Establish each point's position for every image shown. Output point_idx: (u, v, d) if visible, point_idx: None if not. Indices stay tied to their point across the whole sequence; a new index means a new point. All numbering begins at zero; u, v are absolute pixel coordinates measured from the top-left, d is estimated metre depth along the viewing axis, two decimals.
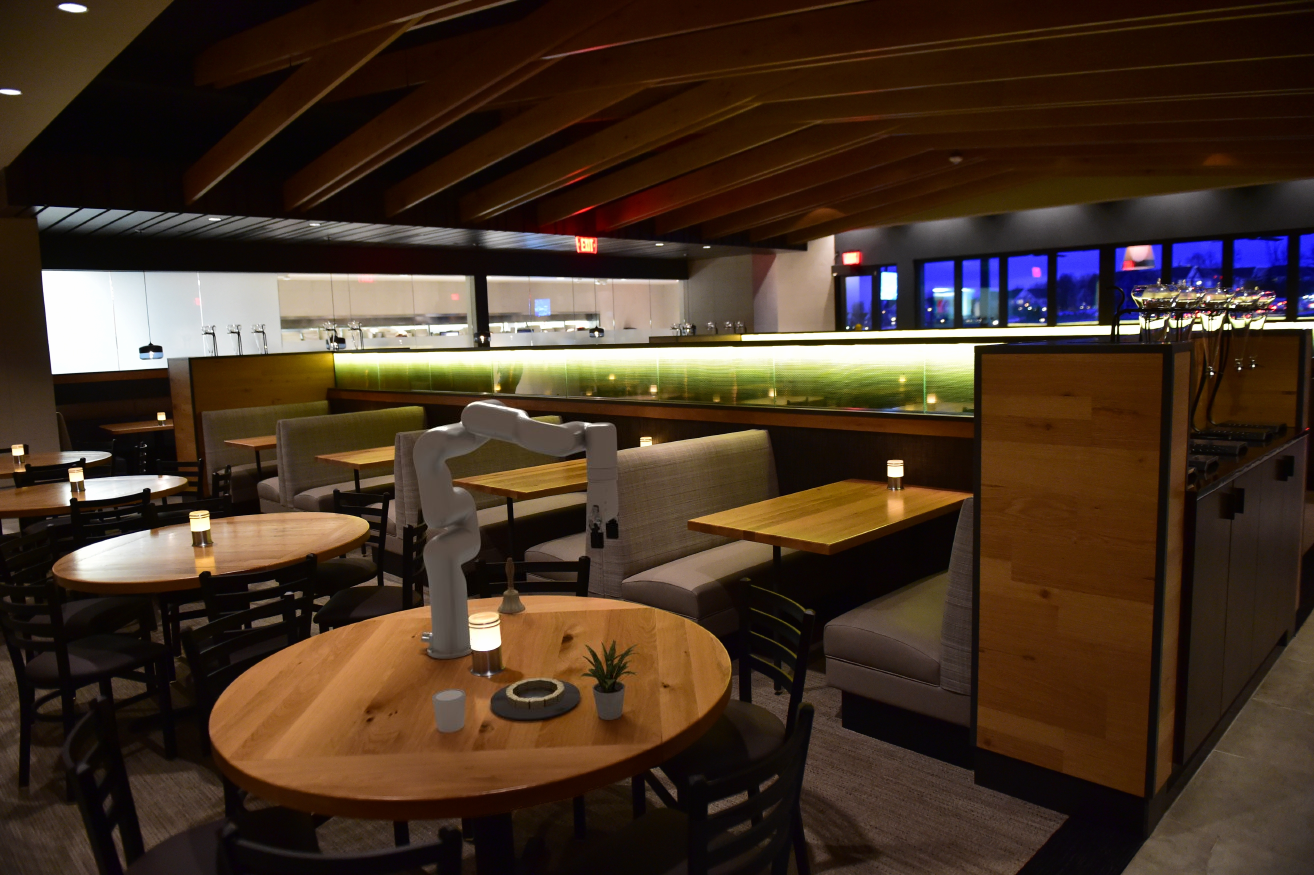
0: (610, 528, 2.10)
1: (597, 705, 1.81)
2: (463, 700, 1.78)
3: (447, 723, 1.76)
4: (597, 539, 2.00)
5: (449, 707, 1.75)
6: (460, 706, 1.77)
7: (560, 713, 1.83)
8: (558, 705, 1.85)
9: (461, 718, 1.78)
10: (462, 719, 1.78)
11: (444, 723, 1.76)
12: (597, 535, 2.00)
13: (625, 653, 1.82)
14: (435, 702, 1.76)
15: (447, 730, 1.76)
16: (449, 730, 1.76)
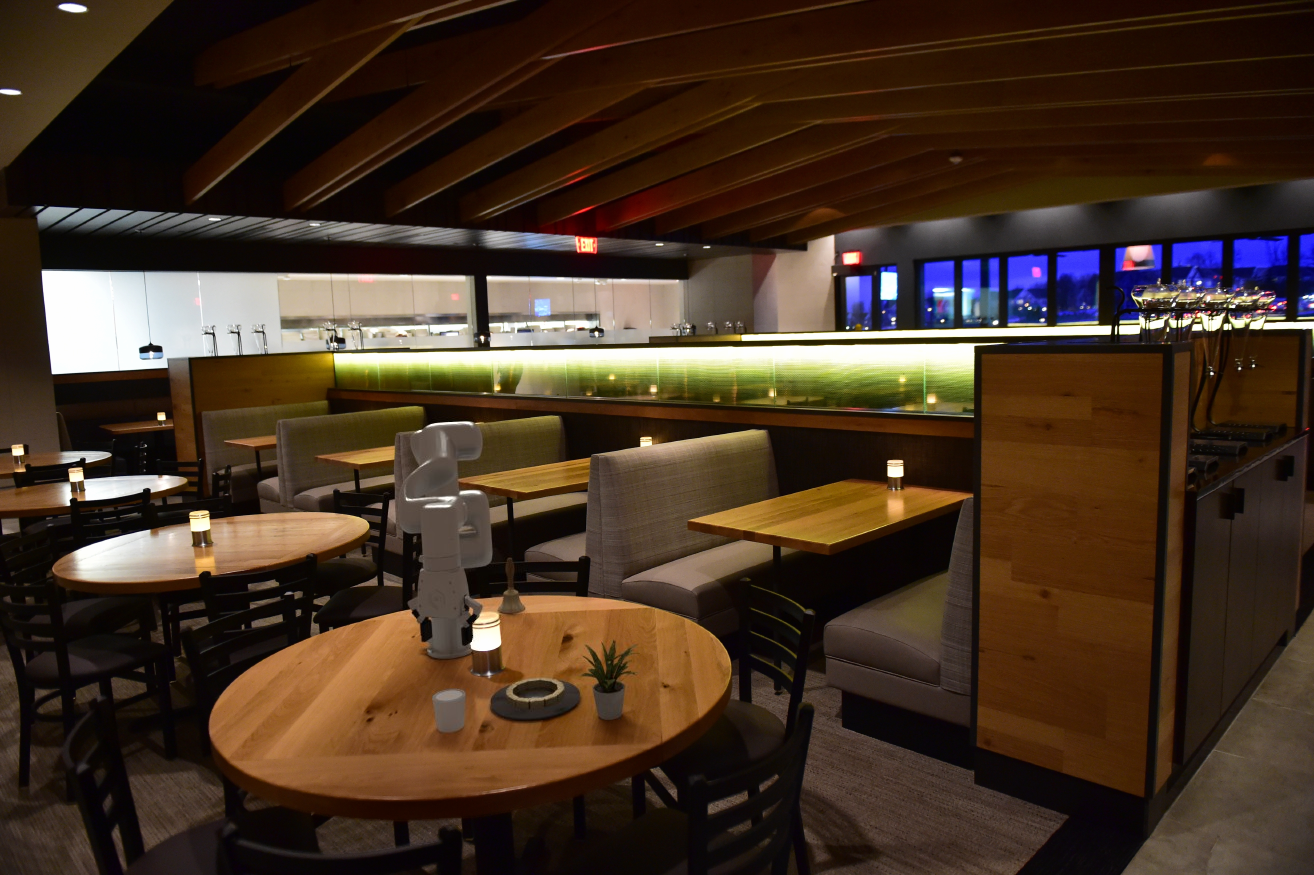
0: (427, 628, 1.78)
1: (597, 705, 1.81)
2: (463, 700, 1.78)
3: (447, 723, 1.76)
4: (472, 632, 1.76)
5: (449, 707, 1.75)
6: (460, 706, 1.77)
7: (560, 713, 1.83)
8: (558, 705, 1.85)
9: (461, 718, 1.78)
10: (462, 719, 1.78)
11: (444, 723, 1.76)
12: (471, 627, 1.76)
13: (625, 653, 1.82)
14: (435, 702, 1.76)
15: (447, 730, 1.76)
16: (449, 730, 1.76)
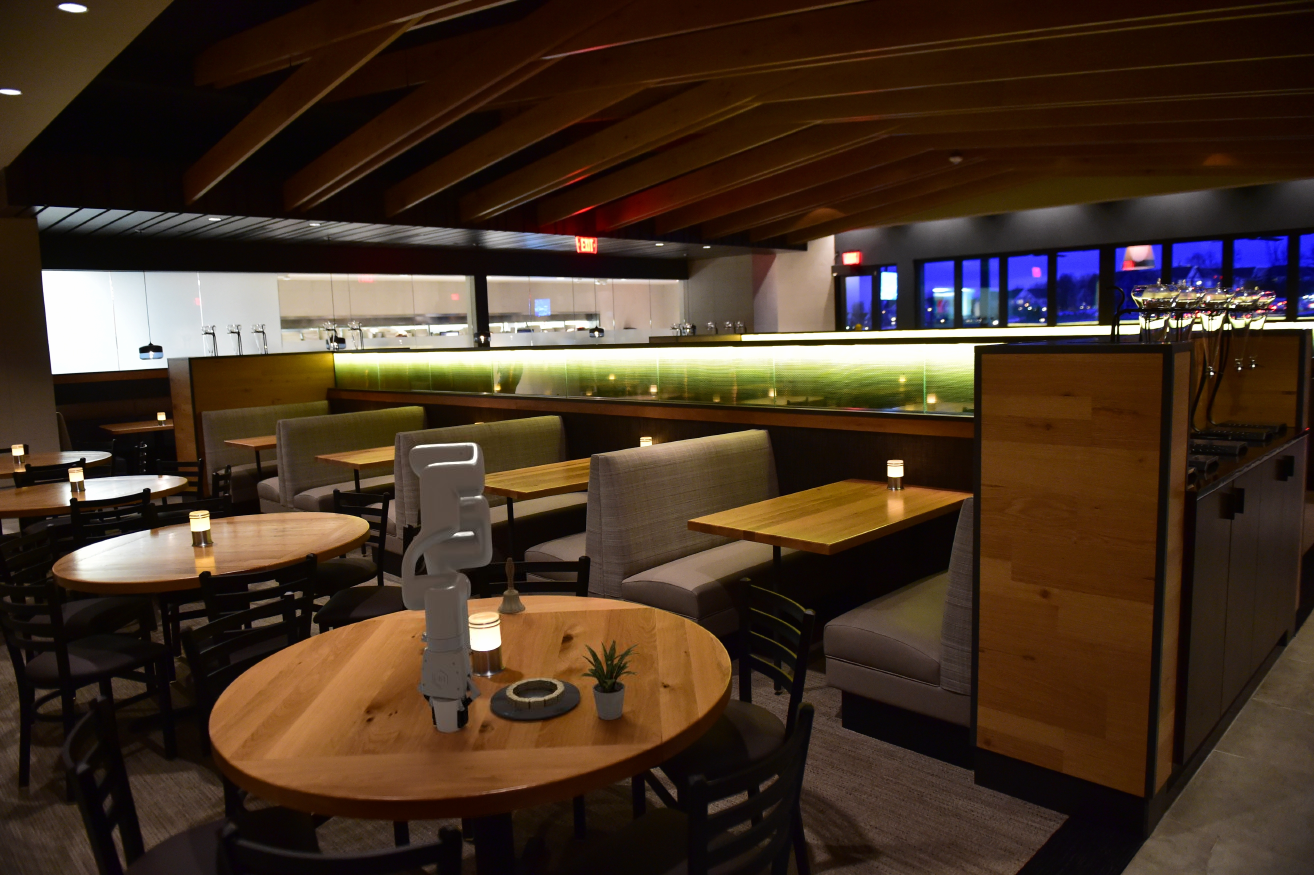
0: None
1: (597, 705, 1.81)
2: (463, 700, 1.78)
3: (447, 723, 1.76)
4: (467, 714, 1.78)
5: (449, 707, 1.75)
6: None
7: (560, 713, 1.83)
8: (558, 705, 1.85)
9: None
10: None
11: (444, 723, 1.76)
12: (467, 710, 1.78)
13: (625, 653, 1.82)
14: (435, 702, 1.76)
15: (447, 730, 1.76)
16: (449, 730, 1.76)
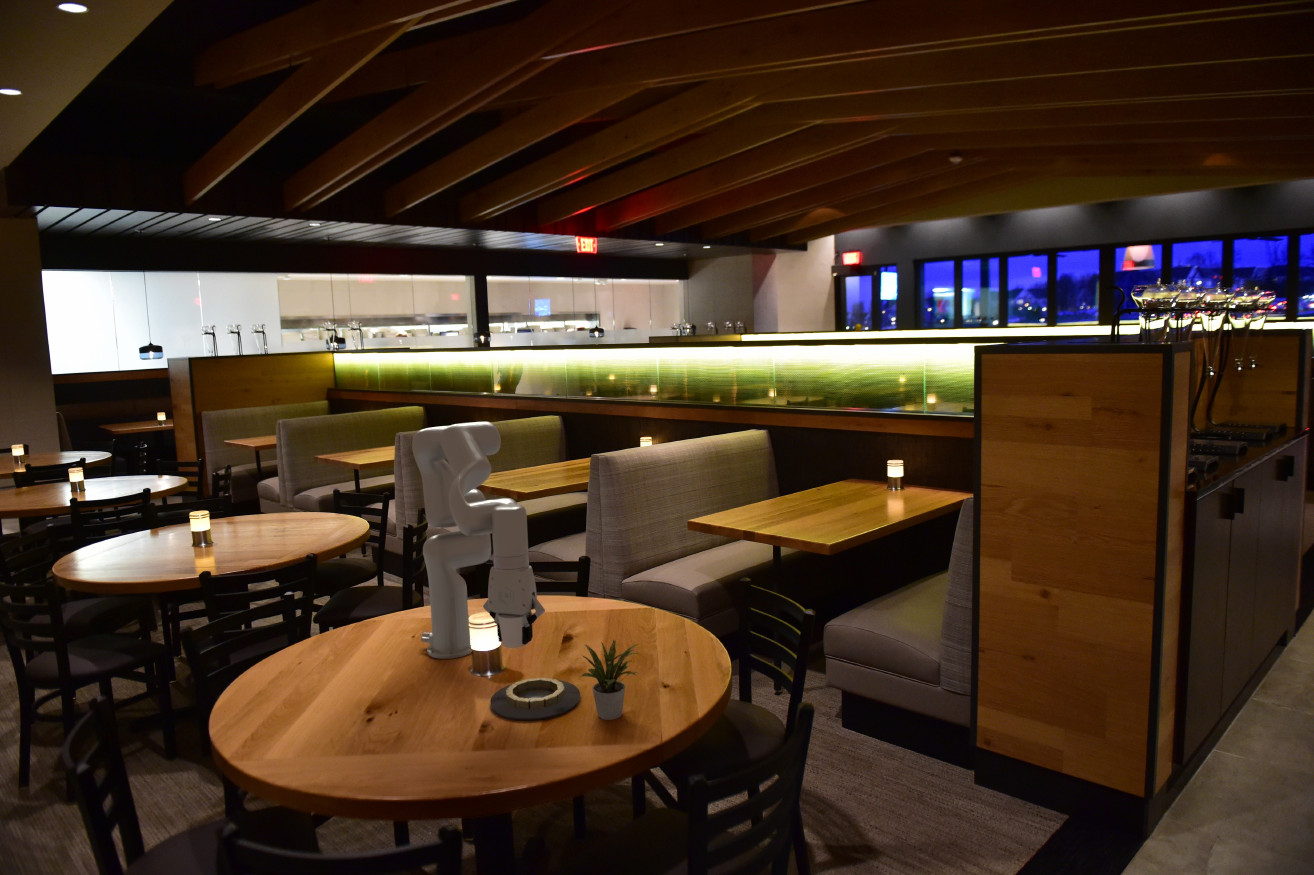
0: None
1: (597, 705, 1.81)
2: None
3: (512, 638, 1.83)
4: (531, 631, 1.85)
5: (514, 623, 1.83)
6: None
7: (560, 713, 1.83)
8: (558, 705, 1.85)
9: None
10: None
11: (510, 638, 1.83)
12: (531, 627, 1.85)
13: (625, 653, 1.82)
14: (501, 618, 1.83)
15: (512, 645, 1.84)
16: (514, 645, 1.84)
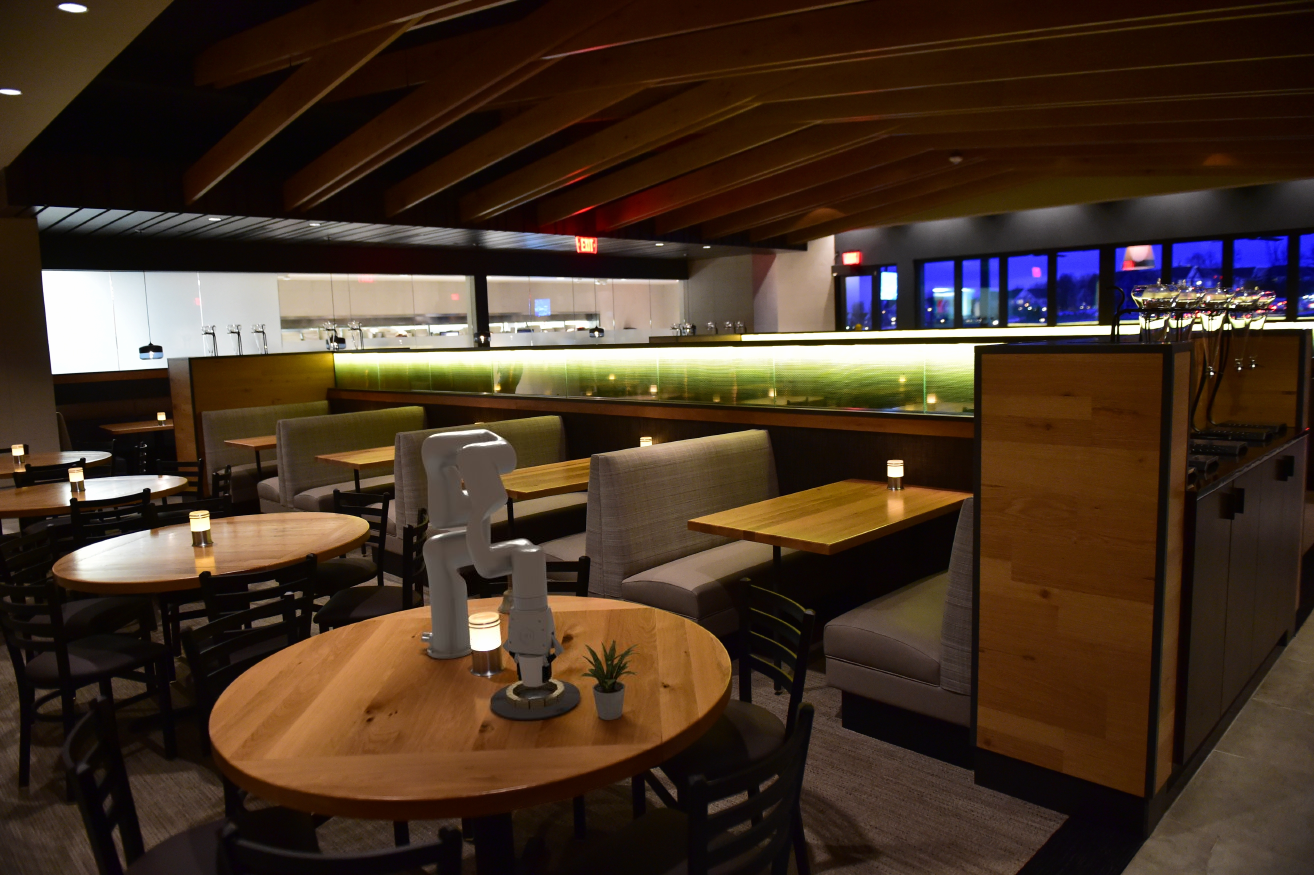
0: None
1: (597, 705, 1.81)
2: (547, 656, 1.88)
3: (533, 678, 1.87)
4: (551, 670, 1.89)
5: (535, 662, 1.86)
6: None
7: (560, 713, 1.83)
8: (558, 705, 1.85)
9: None
10: None
11: (530, 678, 1.87)
12: (550, 666, 1.89)
13: (625, 653, 1.82)
14: (521, 658, 1.87)
15: (533, 684, 1.87)
16: (534, 684, 1.87)
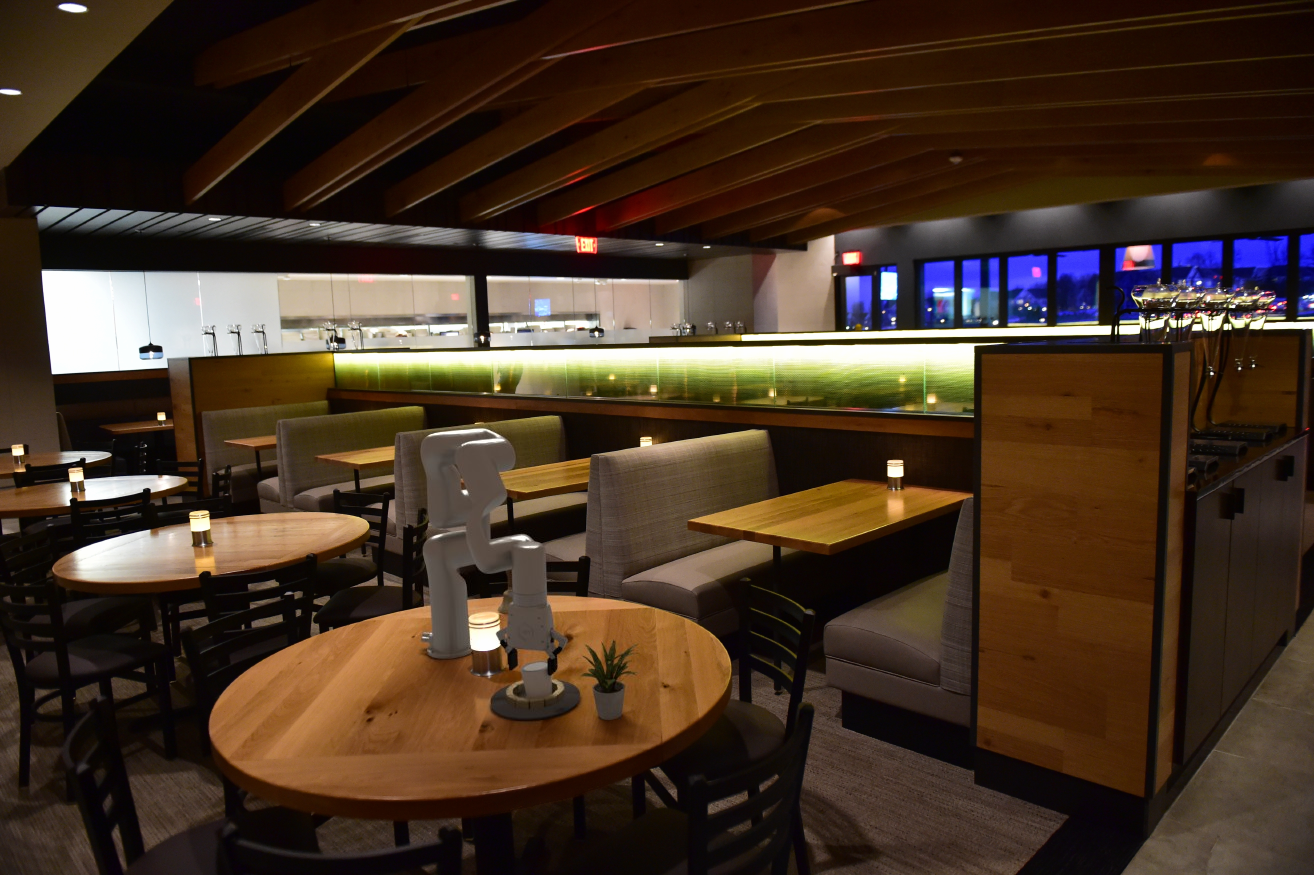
0: (514, 657, 1.91)
1: (597, 705, 1.81)
2: None
3: (536, 692, 1.87)
4: (556, 662, 1.89)
5: (537, 676, 1.86)
6: (547, 675, 1.88)
7: (560, 713, 1.83)
8: (558, 705, 1.85)
9: (549, 687, 1.88)
10: (550, 688, 1.89)
11: (534, 692, 1.87)
12: (556, 658, 1.88)
13: (625, 653, 1.82)
14: (524, 673, 1.87)
15: None
16: None
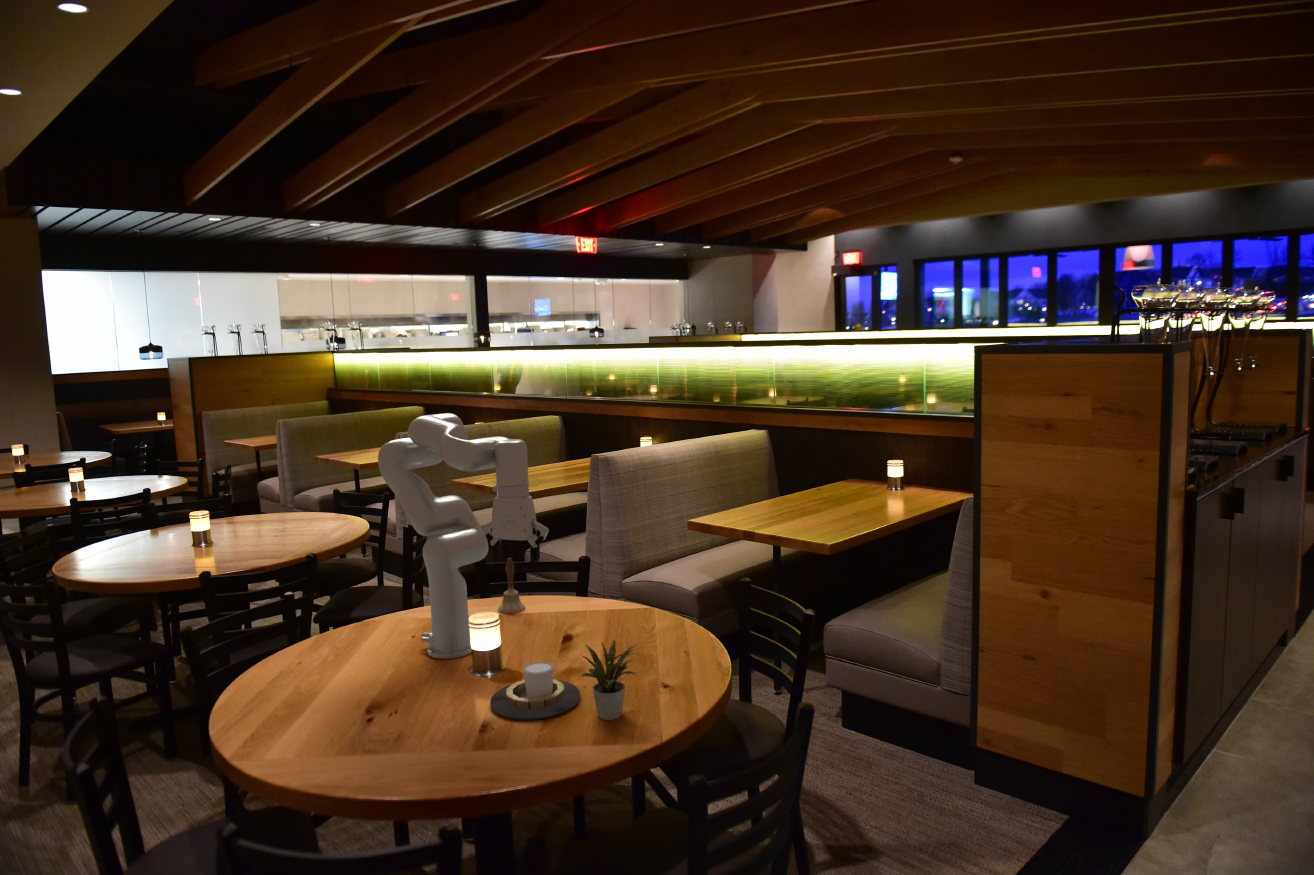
0: (499, 549, 2.04)
1: (597, 705, 1.81)
2: (552, 672, 1.89)
3: (537, 693, 1.87)
4: (539, 552, 2.01)
5: (539, 678, 1.86)
6: (549, 678, 1.88)
7: (560, 713, 1.83)
8: (558, 705, 1.85)
9: (550, 689, 1.88)
10: (551, 690, 1.89)
11: (535, 693, 1.87)
12: (539, 548, 2.01)
13: (625, 653, 1.82)
14: (526, 673, 1.87)
15: None
16: None
